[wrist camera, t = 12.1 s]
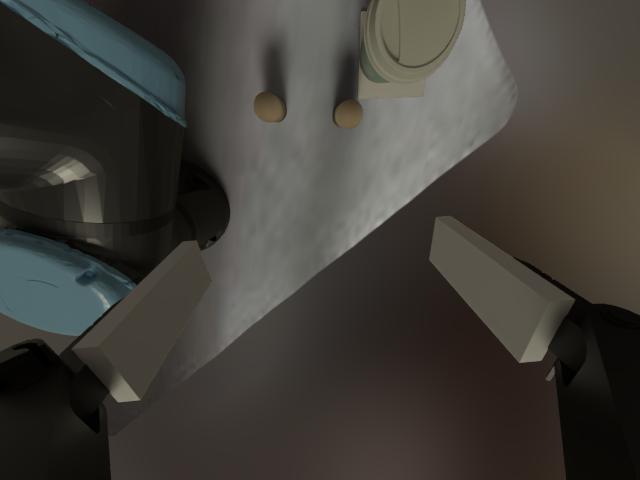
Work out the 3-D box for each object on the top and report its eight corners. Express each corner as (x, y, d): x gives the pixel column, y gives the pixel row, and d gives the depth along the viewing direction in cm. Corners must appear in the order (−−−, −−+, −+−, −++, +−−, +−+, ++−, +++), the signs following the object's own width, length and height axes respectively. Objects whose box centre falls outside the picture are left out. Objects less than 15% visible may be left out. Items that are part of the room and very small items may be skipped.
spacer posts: (260, 130, 34) (248, 132, 27) (233, -70, 25) (207, -135, 19) (353, 127, 34) (362, 127, 27) (358, -74, 25) (374, -140, 19)
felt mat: (357, 99, 32) (358, 98, 32) (360, 12, 28) (361, 11, 28) (421, 96, 32) (422, 96, 32) (434, 10, 28) (435, 8, 28)
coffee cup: (366, -3, 27) (401, -84, 16) (428, 32, 29) (496, -22, 18) (338, 79, 31) (351, 55, 20) (394, 106, 32) (434, 97, 22)
